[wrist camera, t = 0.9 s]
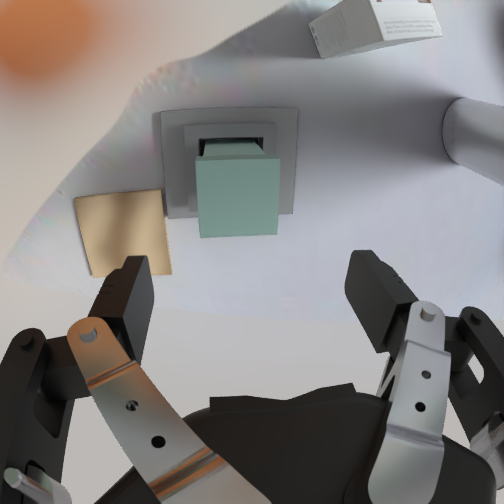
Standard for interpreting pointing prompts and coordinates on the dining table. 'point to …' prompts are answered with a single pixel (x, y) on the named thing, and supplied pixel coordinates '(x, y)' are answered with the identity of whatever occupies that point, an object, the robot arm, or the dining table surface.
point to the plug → (237, 189)
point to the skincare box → (372, 25)
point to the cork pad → (124, 230)
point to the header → (223, 126)
